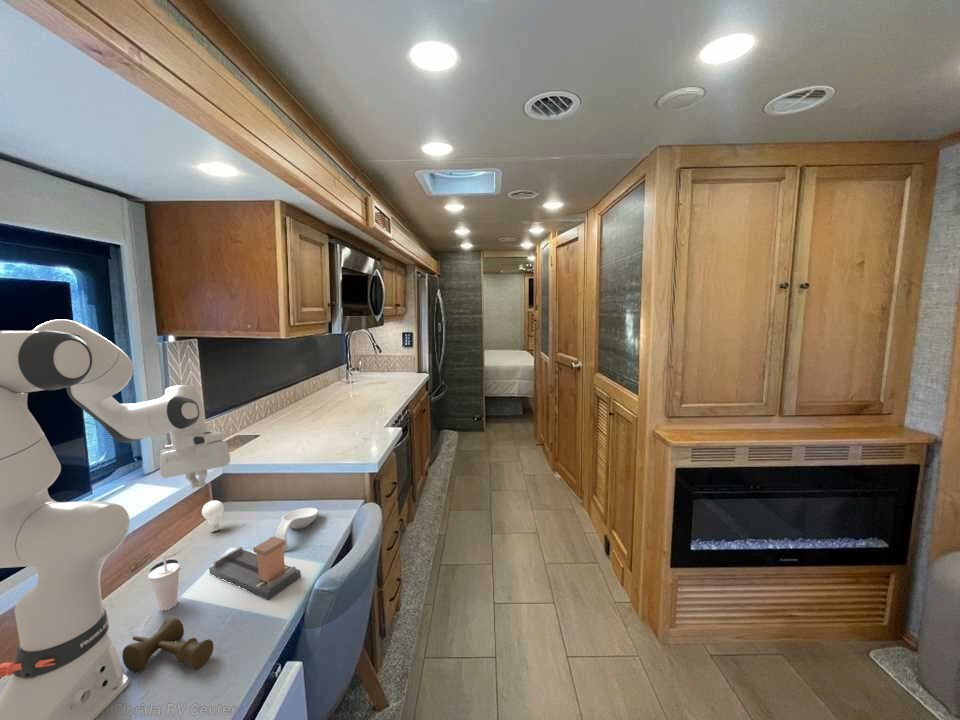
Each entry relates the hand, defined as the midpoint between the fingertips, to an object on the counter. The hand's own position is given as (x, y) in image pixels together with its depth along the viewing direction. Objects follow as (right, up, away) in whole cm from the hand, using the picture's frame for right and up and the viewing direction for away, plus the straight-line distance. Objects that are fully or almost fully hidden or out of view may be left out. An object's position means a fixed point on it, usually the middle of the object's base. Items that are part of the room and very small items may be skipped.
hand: (199, 487), depth 114 cm
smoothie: (+1, -27, -12) cm, 29 cm away
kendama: (+14, -28, -28) cm, 42 cm away
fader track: (+17, -25, -1) cm, 30 cm away
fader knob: (+24, -23, -5) cm, 33 cm away
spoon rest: (+18, -23, +22) cm, 36 cm away
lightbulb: (-12, -24, +24) cm, 36 cm away
